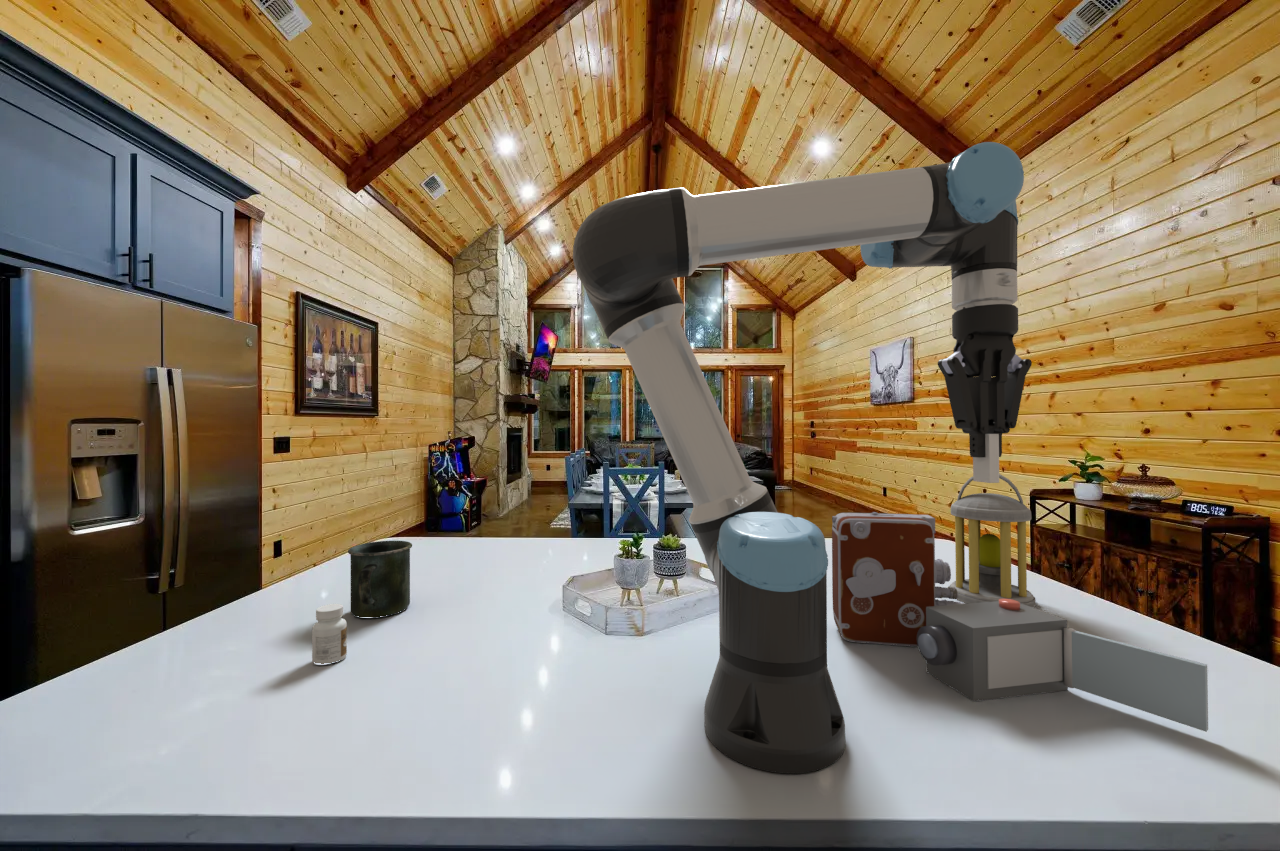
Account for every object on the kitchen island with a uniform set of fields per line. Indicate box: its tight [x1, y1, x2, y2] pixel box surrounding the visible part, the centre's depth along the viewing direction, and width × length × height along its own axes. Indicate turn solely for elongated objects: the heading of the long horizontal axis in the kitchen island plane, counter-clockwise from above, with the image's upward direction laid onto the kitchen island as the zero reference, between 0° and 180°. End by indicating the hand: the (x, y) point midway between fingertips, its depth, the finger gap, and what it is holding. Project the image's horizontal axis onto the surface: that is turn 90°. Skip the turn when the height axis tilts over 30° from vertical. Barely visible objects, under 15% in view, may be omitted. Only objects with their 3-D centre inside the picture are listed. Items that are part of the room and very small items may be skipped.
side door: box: [1064, 627, 1209, 733], centre depth 62 cm, size 13×1×7 cm, turn 33°
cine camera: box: [831, 511, 965, 648], centre depth 84 cm, size 9×19×20 cm, turn 78°
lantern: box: [948, 473, 1037, 608], centre depth 104 cm, size 14×14×25 cm
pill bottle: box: [311, 603, 348, 664], centre depth 77 cm, size 4×4×8 cm
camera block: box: [917, 599, 1069, 702], centre depth 70 cm, size 16×8×10 cm, turn 101°
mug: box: [347, 540, 413, 617], centre depth 97 cm, size 11×15×12 cm
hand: (986, 481), depth 71 cm, fingers closed
